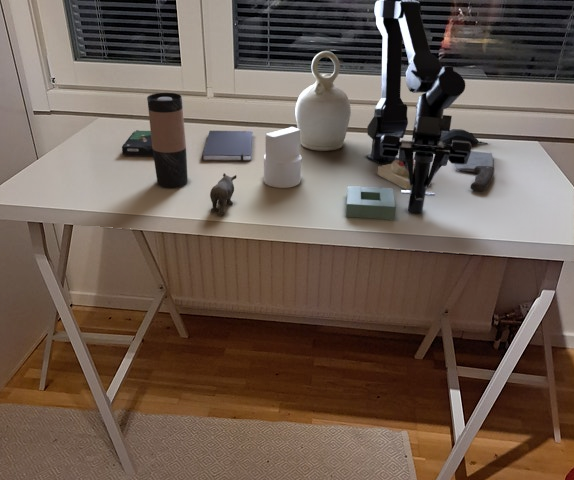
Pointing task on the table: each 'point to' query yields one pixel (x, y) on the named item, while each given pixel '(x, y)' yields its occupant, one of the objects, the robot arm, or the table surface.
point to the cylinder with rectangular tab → (283, 158)
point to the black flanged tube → (419, 182)
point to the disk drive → (138, 144)
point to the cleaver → (479, 169)
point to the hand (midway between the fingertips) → (419, 185)
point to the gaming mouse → (459, 137)
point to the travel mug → (168, 139)
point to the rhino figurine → (222, 193)
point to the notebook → (228, 146)
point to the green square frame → (370, 202)
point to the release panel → (395, 174)
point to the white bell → (323, 110)
